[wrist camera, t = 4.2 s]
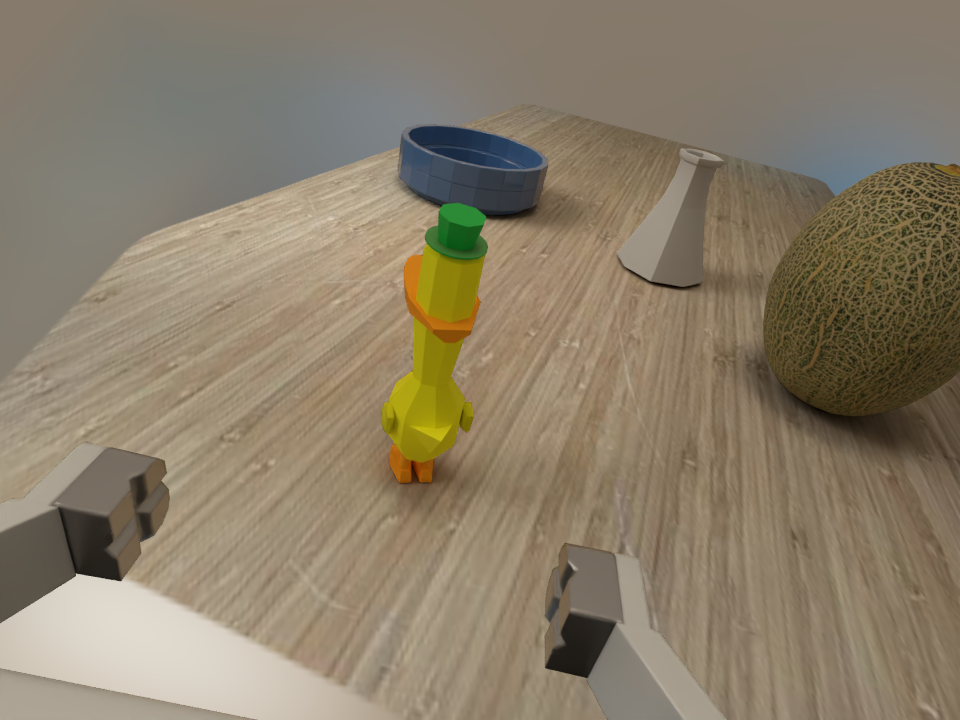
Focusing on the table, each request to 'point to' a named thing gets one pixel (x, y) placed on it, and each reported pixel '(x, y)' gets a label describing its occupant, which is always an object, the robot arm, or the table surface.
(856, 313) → the fruit
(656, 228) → the flask
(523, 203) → the bowl
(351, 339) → the table surface
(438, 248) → the toy figure
